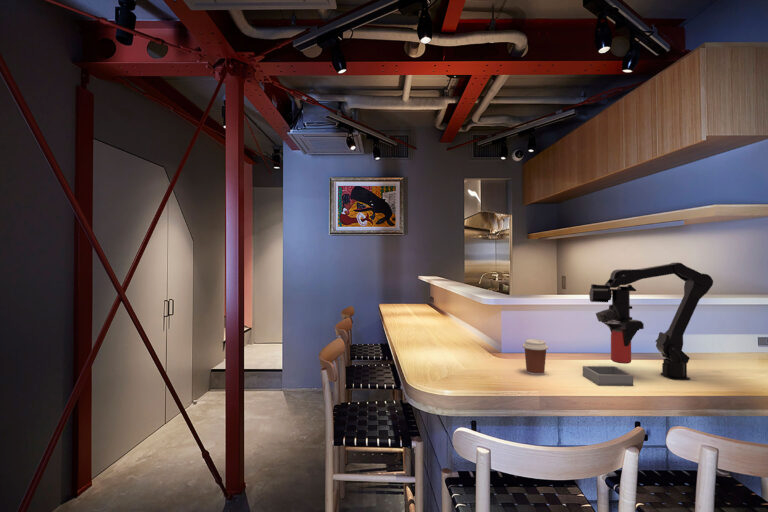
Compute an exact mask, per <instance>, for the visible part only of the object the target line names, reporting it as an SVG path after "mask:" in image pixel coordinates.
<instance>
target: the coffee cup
mask: <svg viewBox="0 0 768 512" xmlns="http://www.w3.org/2000/svg"><path fill="white" fill-rule="evenodd" d="M522 348H524V357H525V367H526V368H525V369H526V370H525V371H526V373H527V374H529V375H534V376H544V375H545V370H546V357H547V351H548V349H549V346H548V345H547V344H546V341H545V340H541V339H534V338H532V339H531V338H529V339H526V340H525V342H524V343H523V344H522Z"/></svg>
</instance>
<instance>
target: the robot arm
mask: <svg viewBox="0 0 768 512" xmlns="http://www.w3.org/2000/svg"><path fill="white" fill-rule="evenodd" d="M669 275H675V276H676V277H677V278H679V279H680V280H682V281H684V285H683V289H684V290H683V292H684V293H683V294H684V295H683V296H682V299H681V301H680V303H679V305H678V308H677V310H676V312H675V315H674V316H673V318H672V321H671V323H670V326H669V328H668V329H667V330H666V331H665V332H661V331H660V332H659V333H658V336H657V337H658V338H657V339H656V340H655V342H656V344H655V347H656V349H657V351H658V352H659V353H661V355H662V357H663V359H662V360H663V362H662V365H661V366H662V367H661V368H662V371H661V372H660V375H662V376H664V377H666V378H669V379H671V380H691V378H690V377H689V376H688V374H687V373H688V368H687V367H688V365H687V364H688V363H689V361H690V357H689V356H688V355H687V354H686V353H685V352H684V351H682V350H683V346H684V334H685V332H686V329H687V328H688V325H689V324H690V321H691V319H692V317H693V315H694V312H695V310H696V307H697V306H698V304H699V301H700V300H701V299H702V298H703V297H704V296H706V294H707V293H708V292H709V291H710V289H711V288H712V286H713V284H714V279H713V278H712V277H711V276H710V275H709V274H707V273H701V272H699V271H698V270H695V269H692V268H691V267H688V266H687V265H685V264H683V263H682V262H671V263H668V264H667V263H666V264H661V265H655V266H654V265H653V266H647V267H642V268H638V269H637V268H635V269H633V268H629V269H628V268H625V269H614V270H613V271H612V272H611V273H610V276H609V277H610V278H609V279H608V280H607V281H606V282H605V284H593V283H592V284H590V289H589V293H588V295H589V301H590V302H591V303H608V302H609V301H611V304H609V305H608V309H604V310H601V311H597V312H595V316H596V319H597V321H598V322H601V323H603V324H604V325H605V326H607V328H609V330H610V334H611V333H612V331H613V330H612V329H620V330H621V331H622V332H623V340H624V346H628V345H629V344H630V342H631V343H632V339H633V338H634V336H635V335H636V334H637V332H638V331H640V330H644V328H645V327H644V323H643V322H642V321H641V320H638V319H633V316H630V314H631V310H633V306H632V305H631V303H630V302H631V301H630V296H631V295H630V293H631V292H636V291H637V289H636V288H635V287H633V285H632V284H633V283H635V282H638V281H640V280H643V279H649V278H658V277H661V276H663V277H664V276H669Z"/></svg>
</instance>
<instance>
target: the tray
mask: <svg viewBox="0 0 768 512" xmlns="http://www.w3.org/2000/svg"><path fill="white" fill-rule="evenodd" d="M582 376H583V377H584V378H586V379H588V380H589V381H591V382H592V383H594V384H595V385H597V386H599V387H600V386H602V387H603V386H608V387H609V386H614V387H615V386H616V387H617V386H618V387H623V386H624V387H628V386H629V387H633V386H634V375H633V374H631V373H629V372H627V371H625V370H623V369H621V368H619V367H617V366H614V365H612V366H611V365H609V366H608V365H605V366H604V365H597V366H596V365H582Z"/></svg>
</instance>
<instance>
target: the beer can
mask: <svg viewBox="0 0 768 512" xmlns="http://www.w3.org/2000/svg"><path fill="white" fill-rule="evenodd" d="M612 330H613V331H612V333H611V332H610V360H611V361H612V362H613V363H616V364H625V365H627V364H631V362H632V341H631V342H630V344H629V345H628V346H624V340H623V332H622V331H621V330H620V329H612Z"/></svg>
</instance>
